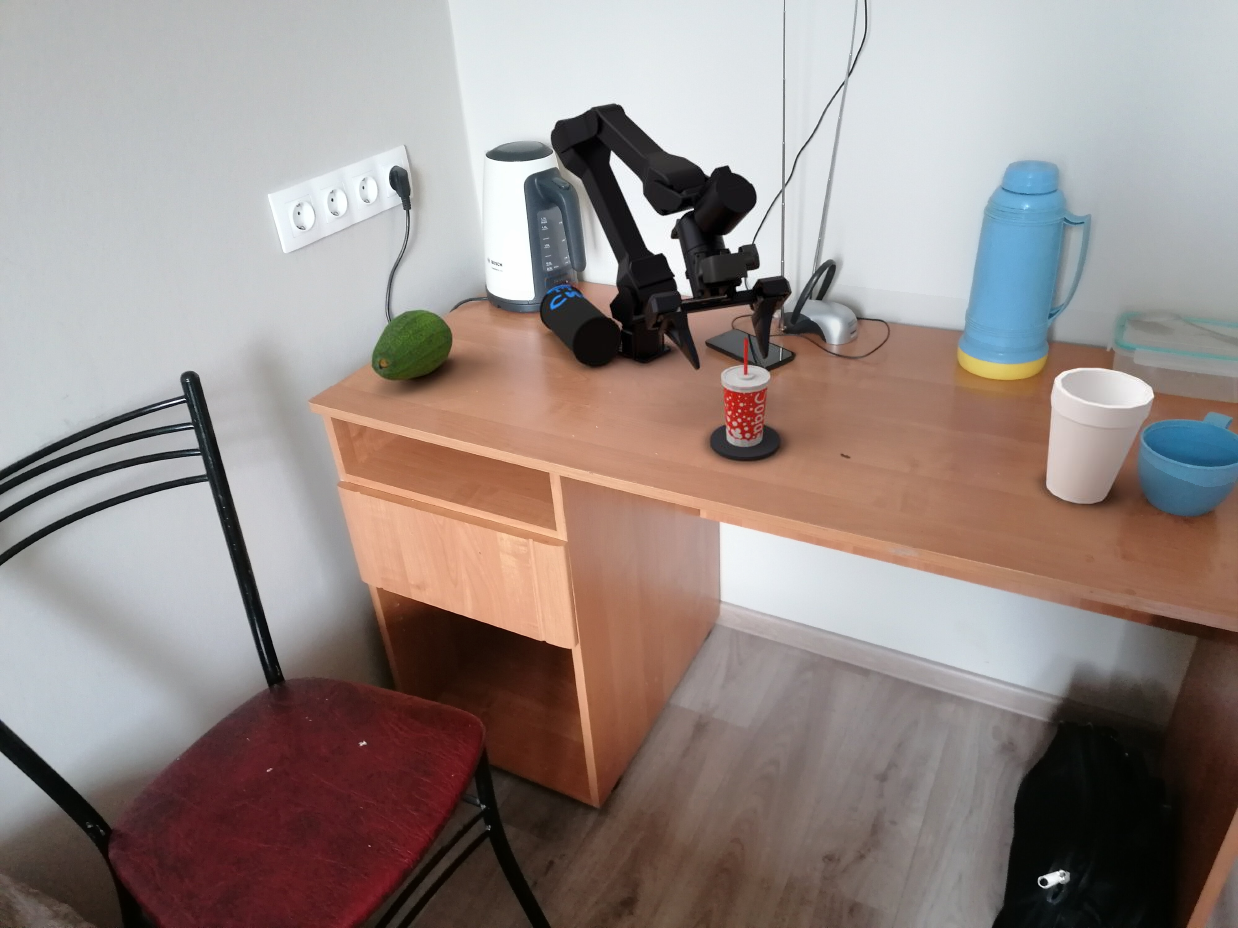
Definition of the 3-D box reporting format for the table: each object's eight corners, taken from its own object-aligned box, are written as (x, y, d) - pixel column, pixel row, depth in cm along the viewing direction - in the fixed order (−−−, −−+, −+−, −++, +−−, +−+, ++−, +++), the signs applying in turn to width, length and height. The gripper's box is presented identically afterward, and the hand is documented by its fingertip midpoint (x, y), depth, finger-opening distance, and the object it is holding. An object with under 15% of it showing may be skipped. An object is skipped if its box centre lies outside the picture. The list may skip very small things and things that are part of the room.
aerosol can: (572, 370, 131) (532, 326, 147) (621, 363, 134) (576, 320, 150) (572, 319, 127) (530, 279, 143) (622, 313, 130) (576, 274, 145)
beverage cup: (737, 454, 107) (739, 353, 100) (711, 434, 112) (711, 335, 104) (777, 441, 109) (782, 341, 102) (750, 421, 114) (752, 324, 106)
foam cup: (1016, 470, 101) (1038, 371, 94) (1092, 462, 102) (1119, 364, 95) (1058, 516, 93) (1085, 412, 86) (1140, 507, 94) (1173, 403, 87)
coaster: (740, 418, 116) (740, 414, 116) (794, 440, 110) (794, 436, 110) (695, 444, 111) (695, 440, 111) (750, 469, 105) (750, 464, 105)
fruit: (408, 402, 126) (394, 340, 121) (359, 390, 131) (343, 330, 125) (471, 361, 137) (461, 302, 132) (423, 351, 141) (412, 294, 136)
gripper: (646, 233, 103) (674, 352, 100) (789, 213, 107) (821, 328, 103) (633, 273, 114) (658, 382, 111) (764, 255, 117) (792, 360, 114)
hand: (732, 363), depth 110 cm, fingers open, 9 cm apart
